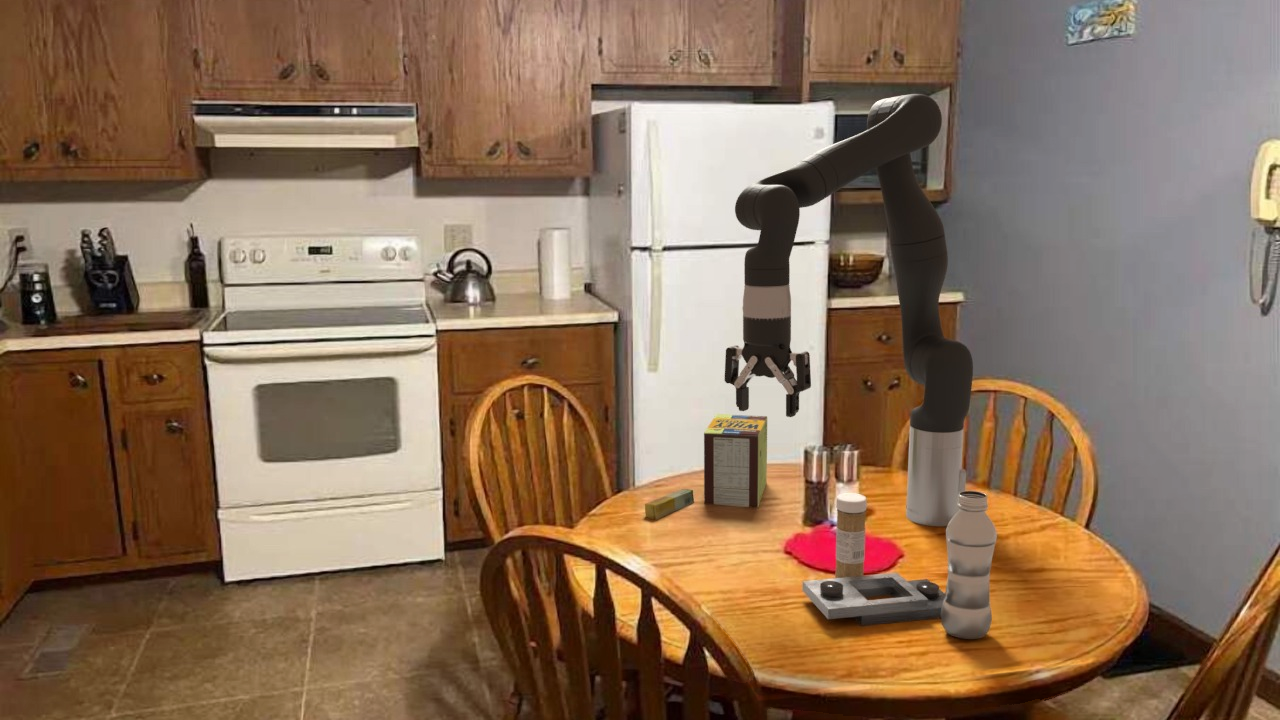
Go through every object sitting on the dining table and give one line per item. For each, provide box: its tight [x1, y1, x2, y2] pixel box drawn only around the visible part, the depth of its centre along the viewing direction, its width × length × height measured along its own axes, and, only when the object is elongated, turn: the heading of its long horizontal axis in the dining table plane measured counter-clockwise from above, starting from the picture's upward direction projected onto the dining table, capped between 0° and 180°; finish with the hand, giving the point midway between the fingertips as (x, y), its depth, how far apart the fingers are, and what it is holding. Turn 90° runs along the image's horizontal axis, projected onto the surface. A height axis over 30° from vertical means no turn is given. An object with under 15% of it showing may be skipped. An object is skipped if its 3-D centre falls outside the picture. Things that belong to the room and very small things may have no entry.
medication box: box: [644, 488, 695, 521], centre depth 185 cm, size 12×3×4 cm, turn 142°
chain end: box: [852, 578, 945, 627], centre depth 146 cm, size 15×10×3 cm, turn 101°
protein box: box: [703, 413, 768, 508], centre depth 193 cm, size 10×15×16 cm
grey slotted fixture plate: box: [801, 572, 928, 620], centre depth 145 cm, size 15×10×3 cm, turn 101°
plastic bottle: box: [940, 490, 998, 640], centre depth 135 cm, size 6×7×20 cm
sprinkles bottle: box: [834, 492, 868, 578], centre depth 155 cm, size 5×5×13 cm
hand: (766, 413), depth 160 cm, fingers open, 8 cm apart
